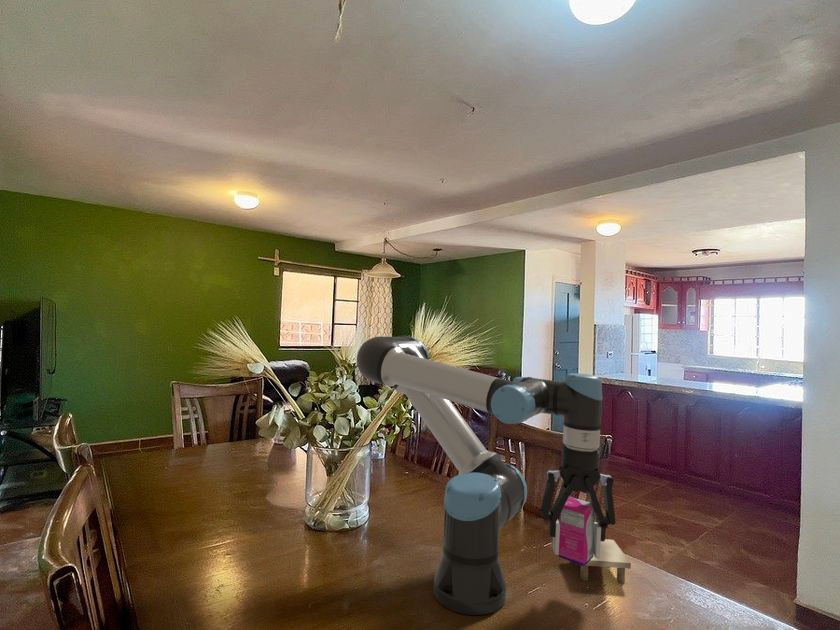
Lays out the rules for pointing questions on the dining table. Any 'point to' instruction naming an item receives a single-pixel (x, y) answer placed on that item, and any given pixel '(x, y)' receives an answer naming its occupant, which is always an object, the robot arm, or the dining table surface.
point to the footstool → (608, 560)
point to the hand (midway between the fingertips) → (575, 553)
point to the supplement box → (576, 531)
